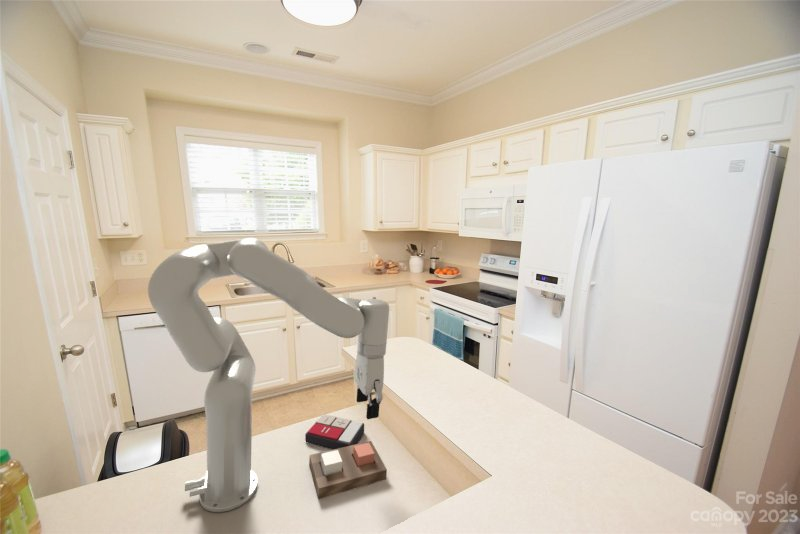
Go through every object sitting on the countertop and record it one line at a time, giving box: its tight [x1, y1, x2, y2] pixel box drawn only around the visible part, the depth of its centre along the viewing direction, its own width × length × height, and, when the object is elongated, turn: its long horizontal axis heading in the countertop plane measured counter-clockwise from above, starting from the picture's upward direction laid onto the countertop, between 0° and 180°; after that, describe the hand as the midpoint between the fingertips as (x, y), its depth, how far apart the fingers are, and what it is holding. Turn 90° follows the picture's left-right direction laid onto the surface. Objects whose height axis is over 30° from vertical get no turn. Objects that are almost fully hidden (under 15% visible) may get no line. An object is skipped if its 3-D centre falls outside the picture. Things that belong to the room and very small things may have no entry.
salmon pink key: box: [353, 443, 375, 467], centre depth 91 cm, size 4×4×4 cm
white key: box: [321, 450, 342, 476], centre depth 87 cm, size 4×4×4 cm
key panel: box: [308, 440, 388, 500], centre depth 90 cm, size 18×12×3 cm, turn 115°
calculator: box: [304, 413, 365, 450], centre depth 103 cm, size 11×4×15 cm
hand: (367, 408), depth 89 cm, fingers open, 7 cm apart
